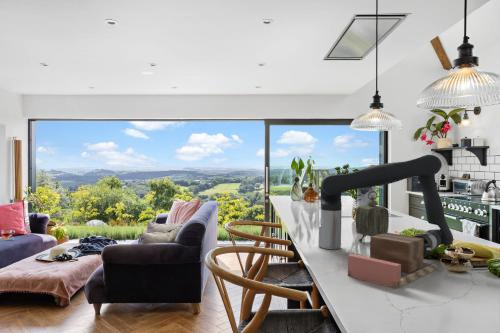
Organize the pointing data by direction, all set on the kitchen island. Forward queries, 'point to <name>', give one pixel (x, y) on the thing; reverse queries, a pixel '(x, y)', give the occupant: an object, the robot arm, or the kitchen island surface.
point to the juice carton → (365, 195)
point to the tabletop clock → (371, 219)
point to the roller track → (384, 271)
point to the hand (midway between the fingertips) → (404, 249)
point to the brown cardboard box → (398, 250)
